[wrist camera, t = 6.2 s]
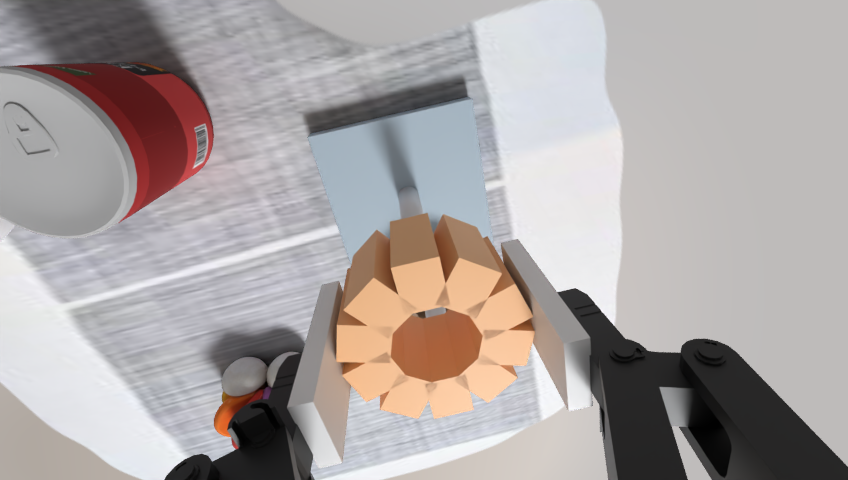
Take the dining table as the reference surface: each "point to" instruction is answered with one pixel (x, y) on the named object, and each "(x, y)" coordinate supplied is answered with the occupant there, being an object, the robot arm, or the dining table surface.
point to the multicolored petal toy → (245, 387)
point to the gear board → (404, 172)
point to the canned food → (94, 143)
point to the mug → (5, 228)
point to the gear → (431, 319)
